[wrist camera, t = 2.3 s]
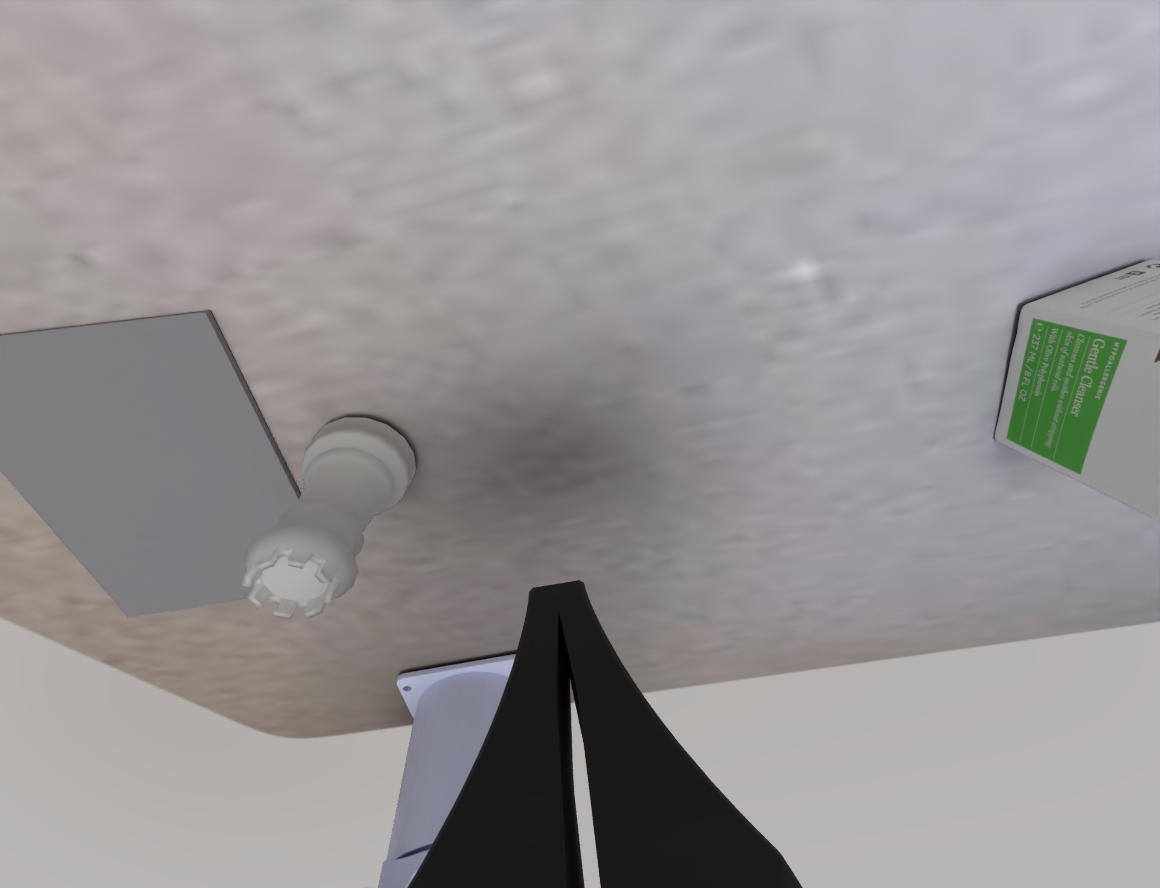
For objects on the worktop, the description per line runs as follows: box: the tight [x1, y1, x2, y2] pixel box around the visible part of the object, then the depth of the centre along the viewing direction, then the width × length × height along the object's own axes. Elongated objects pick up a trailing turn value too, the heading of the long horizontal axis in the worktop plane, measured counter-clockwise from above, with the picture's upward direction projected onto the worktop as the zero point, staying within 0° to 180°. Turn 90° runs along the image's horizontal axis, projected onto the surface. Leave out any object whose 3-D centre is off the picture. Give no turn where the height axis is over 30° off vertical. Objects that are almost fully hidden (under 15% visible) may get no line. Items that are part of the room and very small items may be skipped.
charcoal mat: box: [0, 311, 301, 617], centre depth 19 cm, size 14×10×1 cm
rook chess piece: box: [241, 417, 416, 619], centre depth 17 cm, size 4×4×8 cm
